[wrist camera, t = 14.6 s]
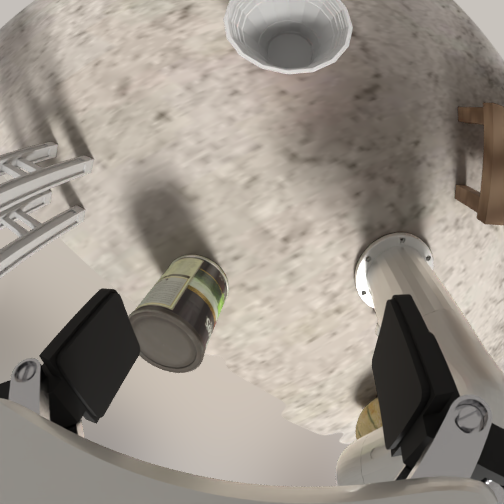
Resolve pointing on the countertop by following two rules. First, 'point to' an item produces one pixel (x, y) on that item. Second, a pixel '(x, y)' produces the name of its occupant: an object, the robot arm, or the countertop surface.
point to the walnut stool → (487, 164)
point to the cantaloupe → (369, 419)
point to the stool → (35, 200)
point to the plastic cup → (288, 33)
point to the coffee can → (180, 314)
